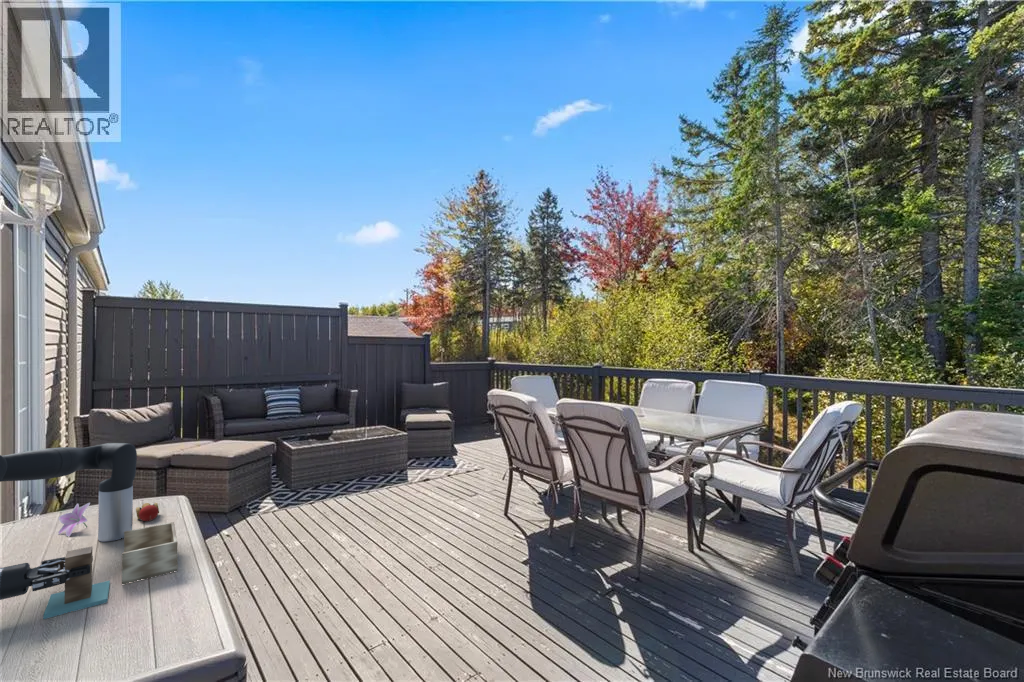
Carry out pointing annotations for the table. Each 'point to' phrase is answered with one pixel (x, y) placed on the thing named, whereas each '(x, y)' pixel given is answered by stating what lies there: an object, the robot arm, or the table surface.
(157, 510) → the kendama
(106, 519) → the robot arm
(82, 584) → the walnut block
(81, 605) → the mat
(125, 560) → the crate
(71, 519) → the lily
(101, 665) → the table surface
